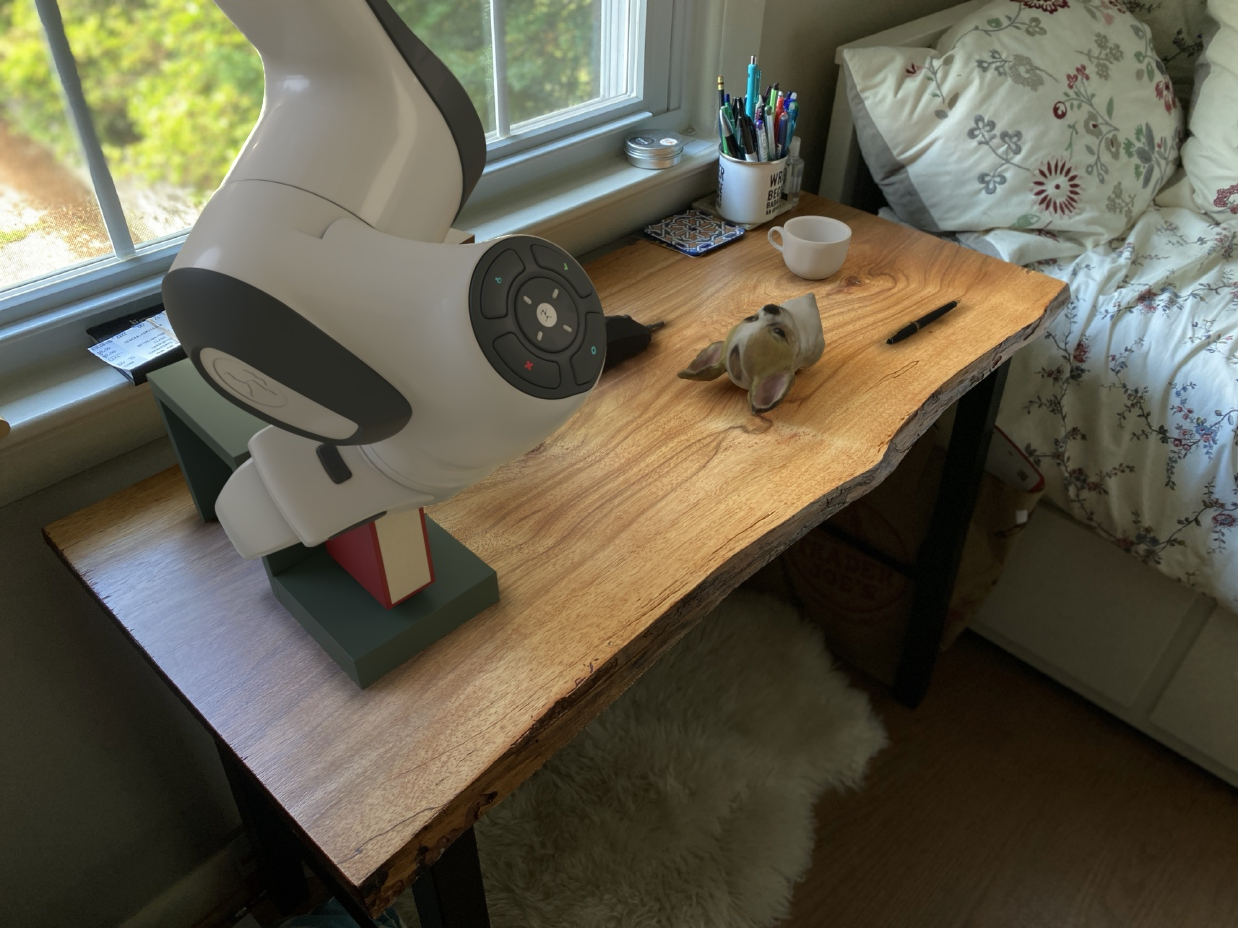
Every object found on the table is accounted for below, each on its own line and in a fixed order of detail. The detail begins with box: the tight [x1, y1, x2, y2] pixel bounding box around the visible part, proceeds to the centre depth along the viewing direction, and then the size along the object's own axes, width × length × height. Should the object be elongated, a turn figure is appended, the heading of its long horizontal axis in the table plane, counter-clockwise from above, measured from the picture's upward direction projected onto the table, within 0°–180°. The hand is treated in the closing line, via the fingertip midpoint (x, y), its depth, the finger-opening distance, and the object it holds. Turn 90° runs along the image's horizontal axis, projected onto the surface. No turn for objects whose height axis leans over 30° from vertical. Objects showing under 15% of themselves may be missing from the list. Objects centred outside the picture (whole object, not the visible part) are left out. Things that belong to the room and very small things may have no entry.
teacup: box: [767, 215, 853, 281], centre depth 111 cm, size 10×8×5 cm
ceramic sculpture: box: [676, 292, 826, 416], centre depth 90 cm, size 11×9×15 cm
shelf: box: [145, 357, 501, 691], centre depth 69 cm, size 12×25×14 cm, turn 44°
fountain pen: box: [885, 298, 963, 346], centre depth 101 cm, size 14×1×2 cm, turn 132°
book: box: [325, 506, 435, 610], centre depth 63 cm, size 4×8×14 cm, turn 44°
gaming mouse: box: [602, 313, 665, 373], centre depth 97 cm, size 6×15×4 cm, turn 132°
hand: (357, 479), depth 63 cm, fingers closed on book, 4 cm apart
